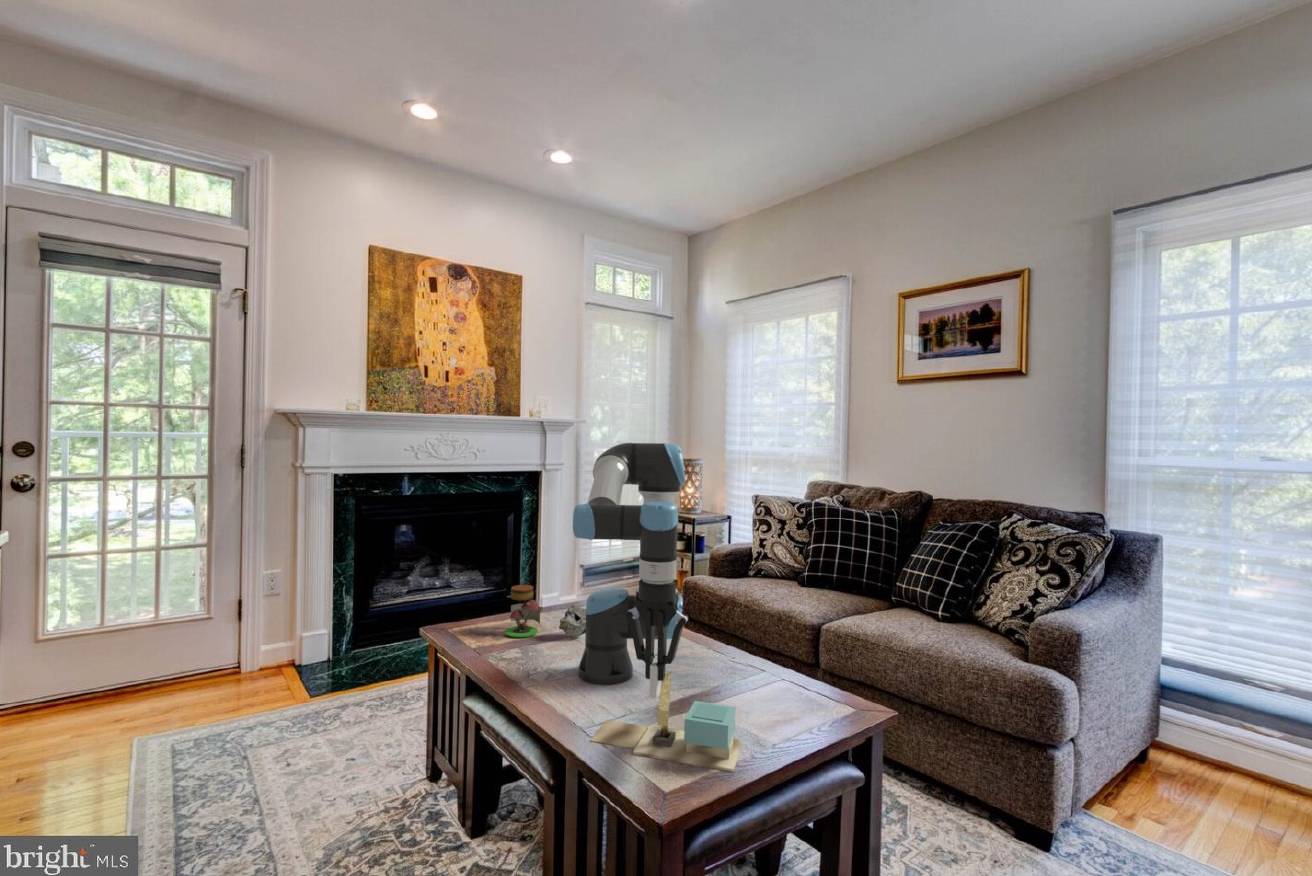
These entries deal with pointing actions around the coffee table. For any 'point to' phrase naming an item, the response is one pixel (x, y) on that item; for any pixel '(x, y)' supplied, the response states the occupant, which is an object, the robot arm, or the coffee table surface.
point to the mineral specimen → (574, 621)
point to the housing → (687, 750)
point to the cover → (709, 725)
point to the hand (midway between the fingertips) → (654, 694)
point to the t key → (664, 704)
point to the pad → (619, 734)
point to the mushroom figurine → (523, 612)
